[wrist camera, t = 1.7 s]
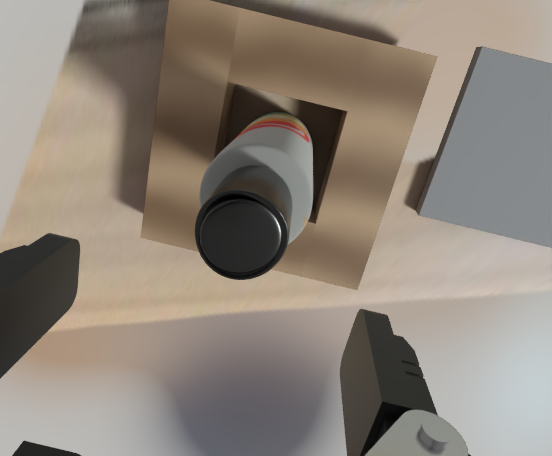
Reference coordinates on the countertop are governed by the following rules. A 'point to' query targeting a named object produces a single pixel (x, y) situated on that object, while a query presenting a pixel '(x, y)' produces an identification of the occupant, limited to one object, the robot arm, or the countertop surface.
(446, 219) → the rubber mat
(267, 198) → the lotion bottle
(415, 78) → the block
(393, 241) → the countertop surface
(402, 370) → the robot arm
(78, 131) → the countertop surface
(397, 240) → the countertop surface
